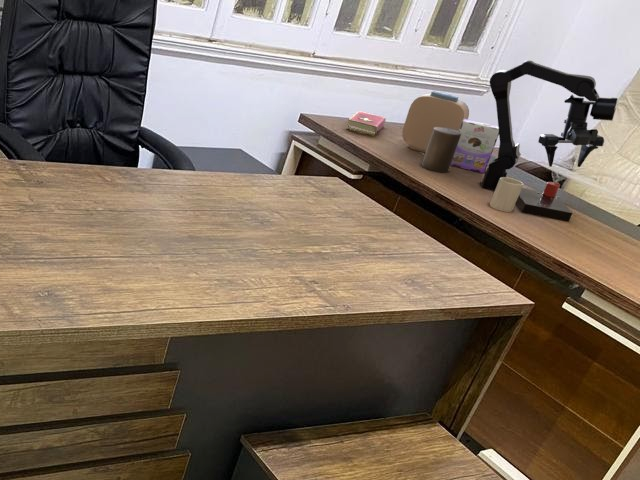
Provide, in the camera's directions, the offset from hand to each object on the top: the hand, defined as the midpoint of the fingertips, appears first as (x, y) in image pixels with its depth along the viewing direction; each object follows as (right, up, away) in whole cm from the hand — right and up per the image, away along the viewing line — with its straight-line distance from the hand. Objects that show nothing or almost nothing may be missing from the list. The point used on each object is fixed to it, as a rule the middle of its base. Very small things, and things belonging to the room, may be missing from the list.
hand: (564, 166), depth 263 cm
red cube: (-3, -8, +5) cm, 10 cm away
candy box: (-19, +9, +34) cm, 39 cm away
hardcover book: (-47, +34, +65) cm, 87 cm away
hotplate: (-8, -13, +2) cm, 16 cm away
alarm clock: (-28, +19, +47) cm, 58 cm away
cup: (-23, -15, -5) cm, 28 cm away
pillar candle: (-33, +7, +26) cm, 43 cm away
